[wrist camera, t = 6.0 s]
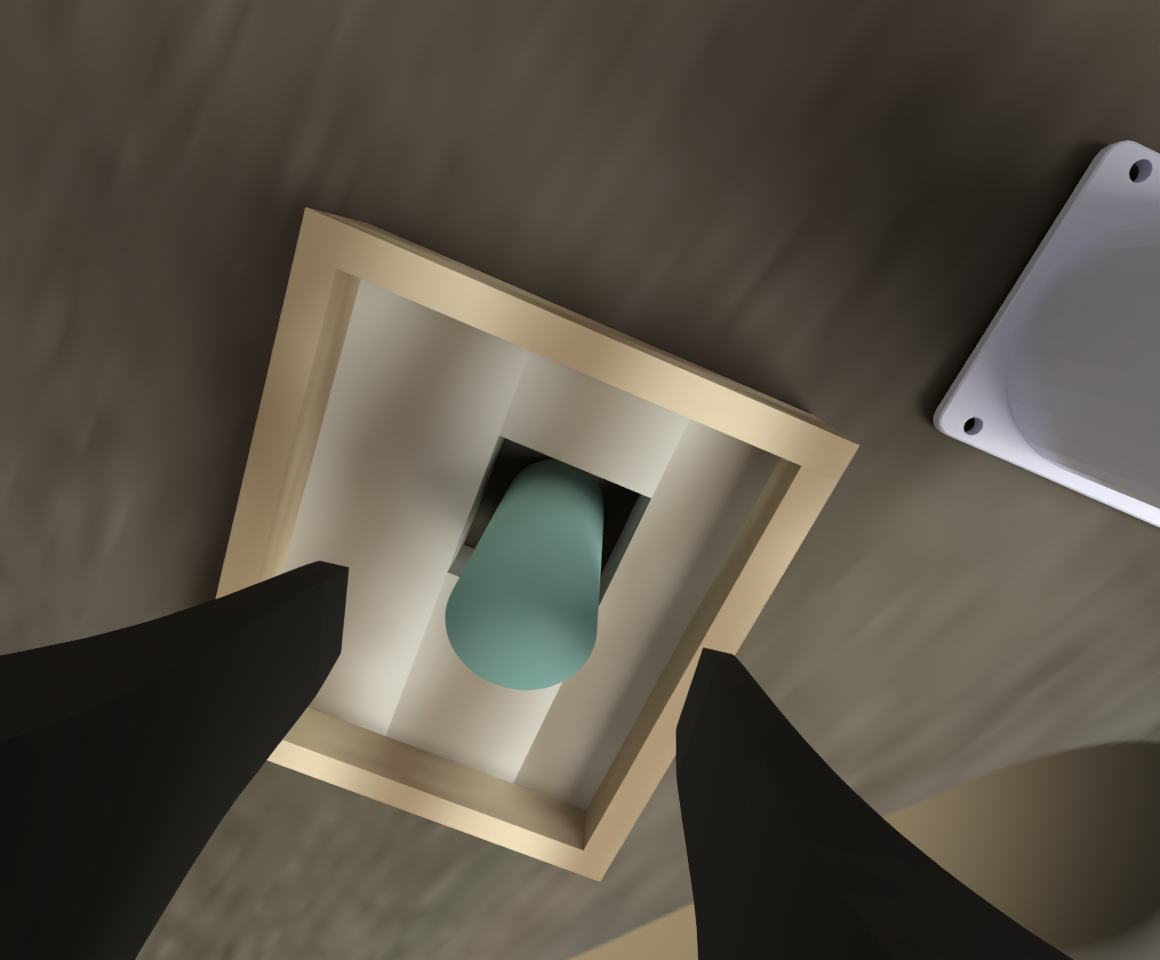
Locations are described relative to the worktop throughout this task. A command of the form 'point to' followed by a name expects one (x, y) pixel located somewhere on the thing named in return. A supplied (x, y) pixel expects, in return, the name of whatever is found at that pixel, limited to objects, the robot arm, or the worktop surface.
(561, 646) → the peg
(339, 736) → the bore tray
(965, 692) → the worktop surface
